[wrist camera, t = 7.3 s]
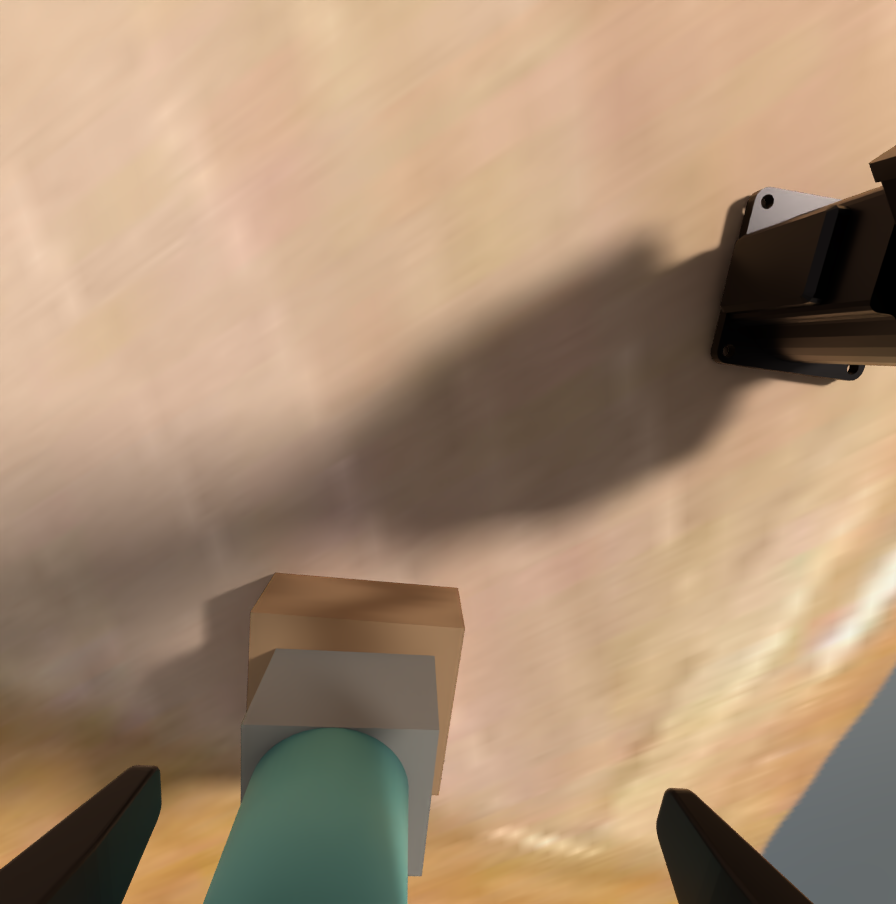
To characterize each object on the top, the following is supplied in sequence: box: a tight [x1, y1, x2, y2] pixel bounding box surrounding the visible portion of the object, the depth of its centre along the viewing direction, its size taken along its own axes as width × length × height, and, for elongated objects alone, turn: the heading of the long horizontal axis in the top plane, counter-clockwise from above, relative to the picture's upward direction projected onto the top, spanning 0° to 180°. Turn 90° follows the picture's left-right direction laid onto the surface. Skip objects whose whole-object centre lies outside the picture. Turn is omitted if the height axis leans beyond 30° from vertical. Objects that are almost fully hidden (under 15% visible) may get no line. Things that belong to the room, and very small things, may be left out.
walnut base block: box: [246, 573, 465, 795], centre depth 19 cm, size 8×8×4 cm
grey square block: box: [241, 649, 439, 876], centre depth 16 cm, size 6×6×4 cm
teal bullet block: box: [203, 728, 409, 904], centre depth 12 cm, size 5×5×4 cm
